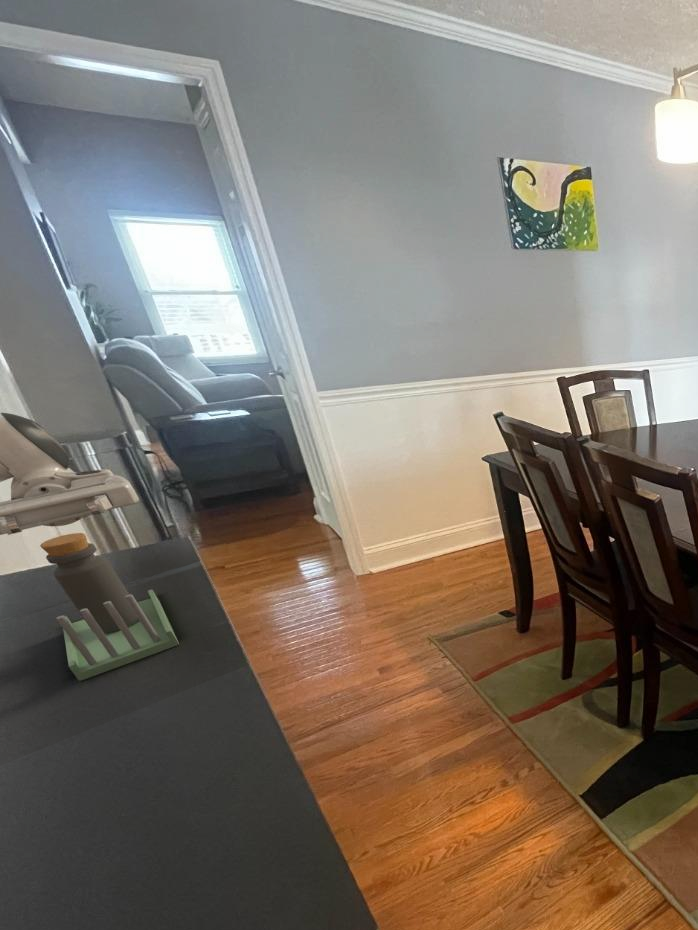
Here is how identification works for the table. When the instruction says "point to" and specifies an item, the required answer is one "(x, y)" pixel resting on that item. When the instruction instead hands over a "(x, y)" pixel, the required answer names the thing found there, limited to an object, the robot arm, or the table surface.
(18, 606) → the table surface
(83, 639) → the drying rack
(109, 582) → the bottle
